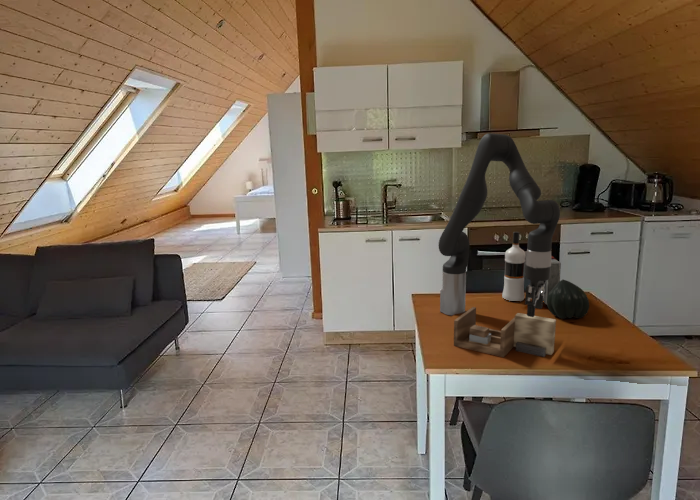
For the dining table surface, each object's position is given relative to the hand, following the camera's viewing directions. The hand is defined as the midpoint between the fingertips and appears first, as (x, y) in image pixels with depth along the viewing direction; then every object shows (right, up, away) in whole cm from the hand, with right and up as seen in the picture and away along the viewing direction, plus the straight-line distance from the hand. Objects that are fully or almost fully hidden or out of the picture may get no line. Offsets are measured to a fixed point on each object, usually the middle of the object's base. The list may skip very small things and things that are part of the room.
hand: (534, 312), depth 156 cm
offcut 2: (-16, -10, +5) cm, 20 cm away
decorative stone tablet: (+26, -1, +57) cm, 63 cm away
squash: (+26, -6, +35) cm, 43 cm away
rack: (-13, -13, +9) cm, 20 cm away
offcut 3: (-16, -12, +6) cm, 21 cm away
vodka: (+12, -2, +56) cm, 58 cm away
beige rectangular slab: (+1, -12, +3) cm, 13 cm away
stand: (+1, -13, +3) cm, 14 cm away
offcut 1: (-17, -8, +5) cm, 19 cm away
